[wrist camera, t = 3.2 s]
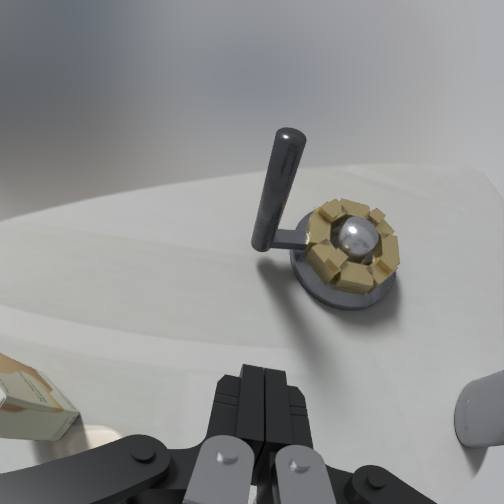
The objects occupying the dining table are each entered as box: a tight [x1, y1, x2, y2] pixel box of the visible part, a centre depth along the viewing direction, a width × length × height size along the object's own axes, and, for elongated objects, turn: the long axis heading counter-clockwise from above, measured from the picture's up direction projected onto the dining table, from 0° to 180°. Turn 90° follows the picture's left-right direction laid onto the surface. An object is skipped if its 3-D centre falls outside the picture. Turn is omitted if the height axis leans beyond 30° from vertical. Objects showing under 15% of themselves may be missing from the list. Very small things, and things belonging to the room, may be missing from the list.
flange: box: [290, 207, 396, 310], centre depth 33 cm, size 13×13×6 cm
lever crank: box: [251, 128, 400, 296], centre depth 28 cm, size 16×11×14 cm, turn 80°
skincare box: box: [0, 353, 79, 440], centre depth 17 cm, size 6×4×12 cm
